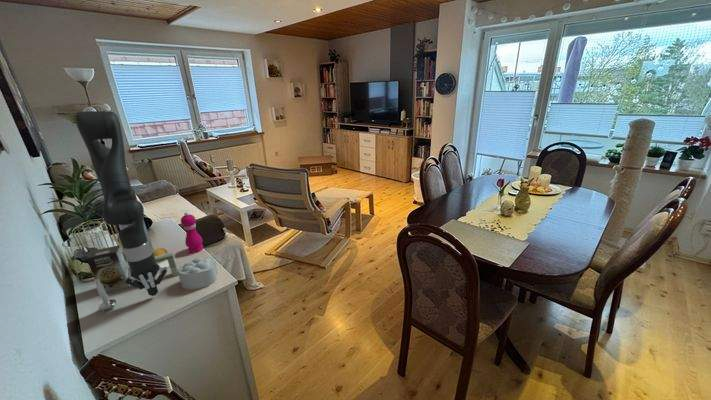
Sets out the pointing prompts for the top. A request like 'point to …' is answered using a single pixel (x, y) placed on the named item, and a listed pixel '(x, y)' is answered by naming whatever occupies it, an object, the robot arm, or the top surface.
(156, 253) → the ball
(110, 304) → the screw
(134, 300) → the top surface
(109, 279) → the coffee box
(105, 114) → the robot arm
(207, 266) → the lumpy-topped squat cylinder
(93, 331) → the top surface
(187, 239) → the pepper mill
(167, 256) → the bridge
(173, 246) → the top surface
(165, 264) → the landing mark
